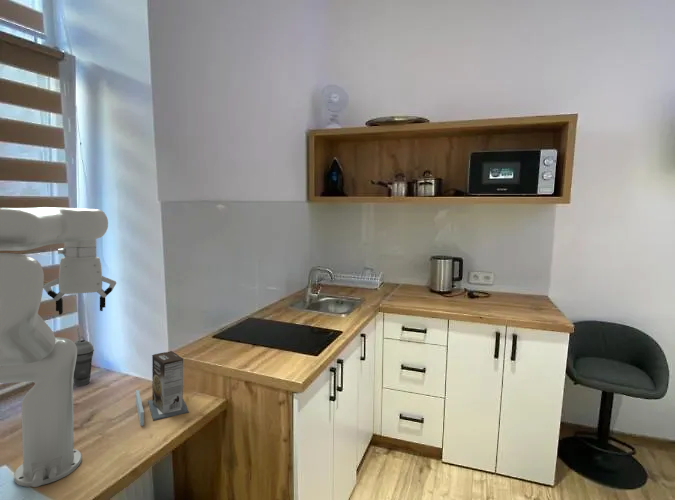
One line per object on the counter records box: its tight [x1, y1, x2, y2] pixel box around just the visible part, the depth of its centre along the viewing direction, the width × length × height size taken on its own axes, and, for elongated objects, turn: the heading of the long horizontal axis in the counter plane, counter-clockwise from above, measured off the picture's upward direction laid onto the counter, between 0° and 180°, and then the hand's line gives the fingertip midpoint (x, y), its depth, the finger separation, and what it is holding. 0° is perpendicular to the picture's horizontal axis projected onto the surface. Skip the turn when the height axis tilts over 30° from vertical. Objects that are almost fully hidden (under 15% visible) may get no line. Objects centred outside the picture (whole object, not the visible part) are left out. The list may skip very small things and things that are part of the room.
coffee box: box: [151, 350, 184, 414], centre depth 118 cm, size 9×6×16 cm
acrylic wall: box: [135, 389, 145, 427], centre depth 114 cm, size 16×1×4 cm, turn 33°
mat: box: [147, 399, 189, 421], centre depth 119 cm, size 13×10×1 cm
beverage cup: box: [73, 328, 95, 387], centre depth 132 cm, size 7×7×20 cm
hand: (81, 311), depth 107 cm, fingers open, 9 cm apart
